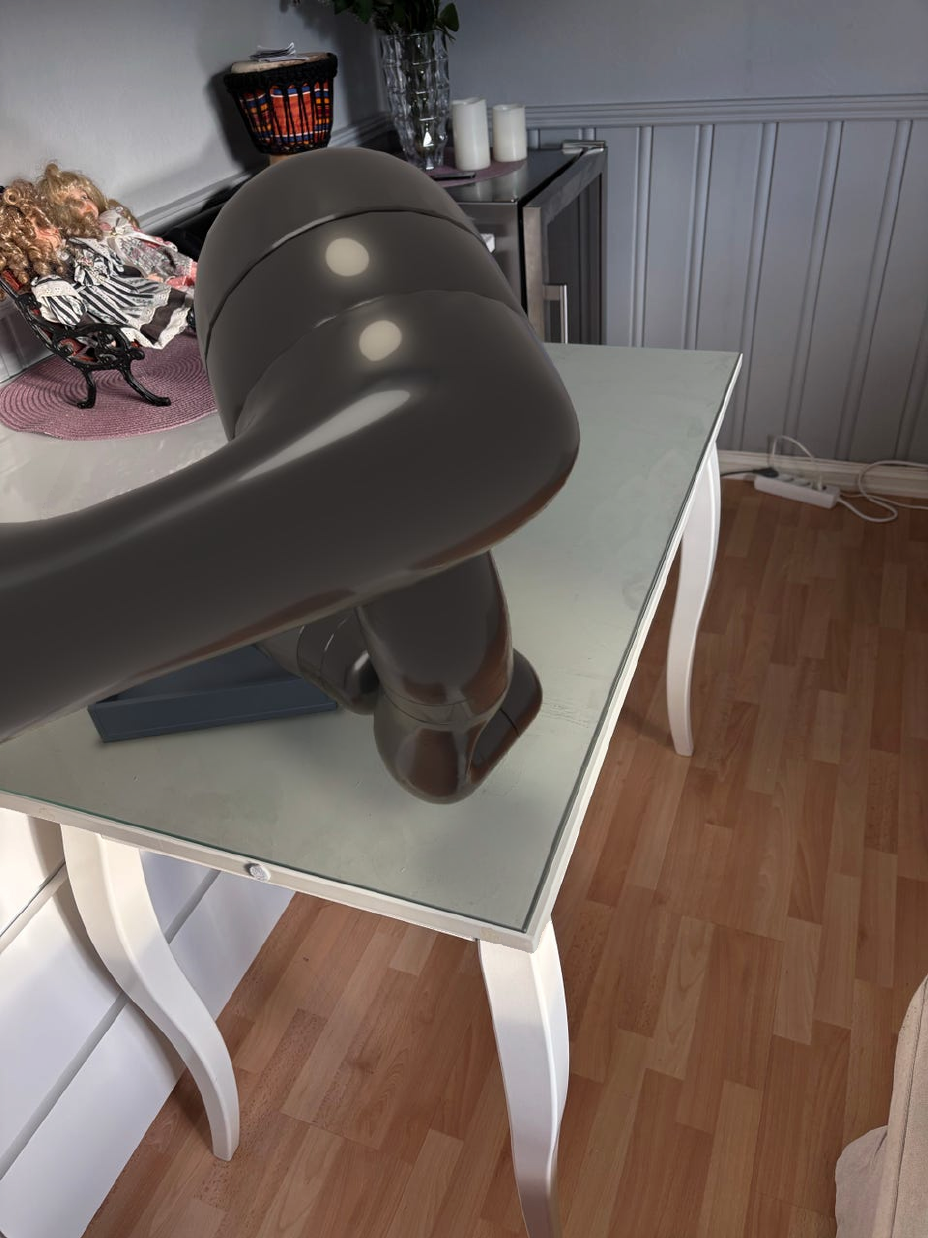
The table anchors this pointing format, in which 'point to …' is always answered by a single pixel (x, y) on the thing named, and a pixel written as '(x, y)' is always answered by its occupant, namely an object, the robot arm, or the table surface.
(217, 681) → the tray
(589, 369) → the table surface
